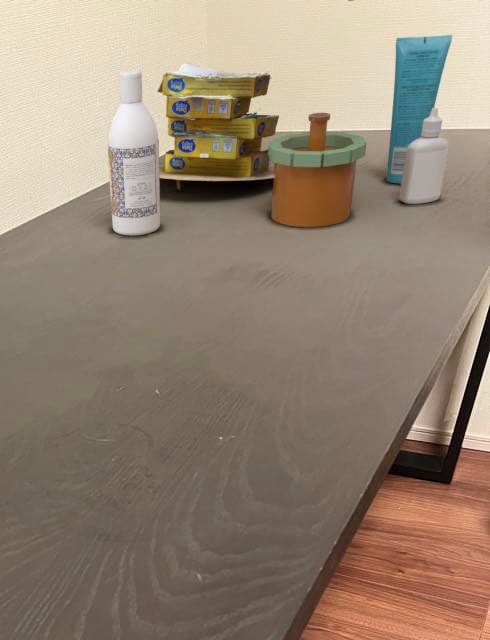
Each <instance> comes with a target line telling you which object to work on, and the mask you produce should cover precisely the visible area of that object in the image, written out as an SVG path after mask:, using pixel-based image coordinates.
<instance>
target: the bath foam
mask: <svg viewBox="0 0 490 640" xmlns="http://www.w3.org/2000/svg"><path fill="white" fill-rule="evenodd" d="M142 75H143V73H142V70H139V69H129V70H123V71H120V72H119V74H118V78H119V98H120V103H119V106H118V108H117V110H116V113H115V114H114V116H113V119H112V121H111V123H110V126H109V130H108V136H107V155H108V173H109V189H110V205H111V206H110V207H111V208H110V209H111V218H112V219H111V222H112V230H113V231H114V232H115V233H117V234H119V235H123V236H143V235H147V234H151V233H153V232H156V231H157V230H158V229H159V228H160V226H161V188H160V186H161V185H160V182H161V181H160V178H159V165H160V143H159V142H160V140H159V134H158V133H159V132H158V129H157V125H156V123H155V119H154V118H153V116H152V115H151V113H150V112H149V110H148V108H147V107H146V105H145V104H144V101H143V76H142Z"/></svg>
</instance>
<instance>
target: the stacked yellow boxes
mask: <svg viewBox="0 0 490 640" xmlns="http://www.w3.org/2000/svg"><path fill="white" fill-rule="evenodd" d="M162 75H163V76H162V80H161V82H160V85H159V87H158V89H157V92H158V93H160V94H161V93H162V95H163V96H166V103H165V105H166V106H165V115H166V118H168V119H167V136H169V137H172V138H174V140H173V141H174V143H173V149H169V150H168V151H166V152H165V160H164V164H159V179H168V180H175V182H176V186H177V187H176V189H178V190H179V191H181V190H182V189H181V187H183V186H184V184H181V181H200V182H201V181H202V182H204V181H206V182H234V181H235V182H237V181H257V180H258V181H259V180H267V179H274V167H270V162H271V161H270V159H269V156H268V149H265V150H261V148H262V144H263V143H262V141H263V138H264V139H265V138H268V137H272V136H275V135H276V131H277V126H278V123H279V118H280V115H279V114H278V115H277V114H258V111H255V112H253V113H251V112H250V107H251V103H252V99H255V98H257V97H261V96H266V95H268V89H269V87H270V81H271V79H272V76H271V74H269V70H267V71H266V72H263V74H262V73H257V72H253V73H249V72H247V73H246V74H244V73H234V72H228V71H224V70H219V69H214V68H208V67H203V66H200V65H196V64H193V63H187V62H186V63H185V62H184V63H182V64H181V65H180V67H179V69H178V70H177V71H167V70H166V71H165V73H163V74H162ZM259 111H261V108H259Z"/></svg>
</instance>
